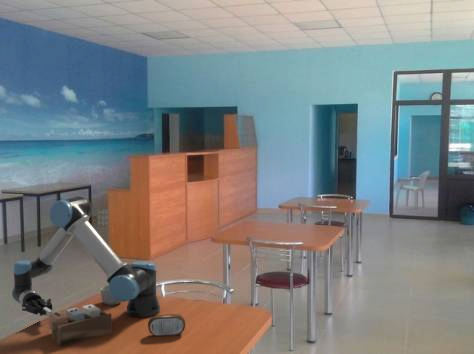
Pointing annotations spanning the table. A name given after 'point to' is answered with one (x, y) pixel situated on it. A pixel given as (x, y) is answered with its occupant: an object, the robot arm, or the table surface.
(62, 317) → the tan rectangular block
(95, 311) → the cream dotted block
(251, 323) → the table surface
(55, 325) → the wooden compartment box
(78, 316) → the pale blue knobbed block
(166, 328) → the tin
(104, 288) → the teacup
